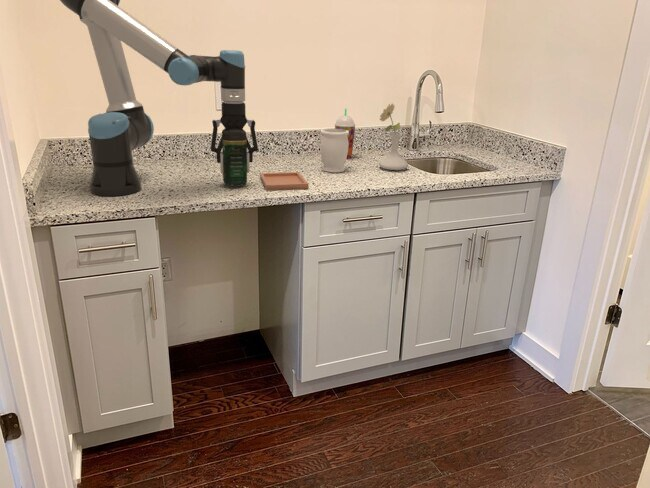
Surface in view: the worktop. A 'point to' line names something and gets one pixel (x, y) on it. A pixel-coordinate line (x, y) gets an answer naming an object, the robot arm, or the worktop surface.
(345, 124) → the smoothie
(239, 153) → the coffee jar
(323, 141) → the jar
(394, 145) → the flower in vase
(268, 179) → the tray
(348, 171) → the worktop surface
